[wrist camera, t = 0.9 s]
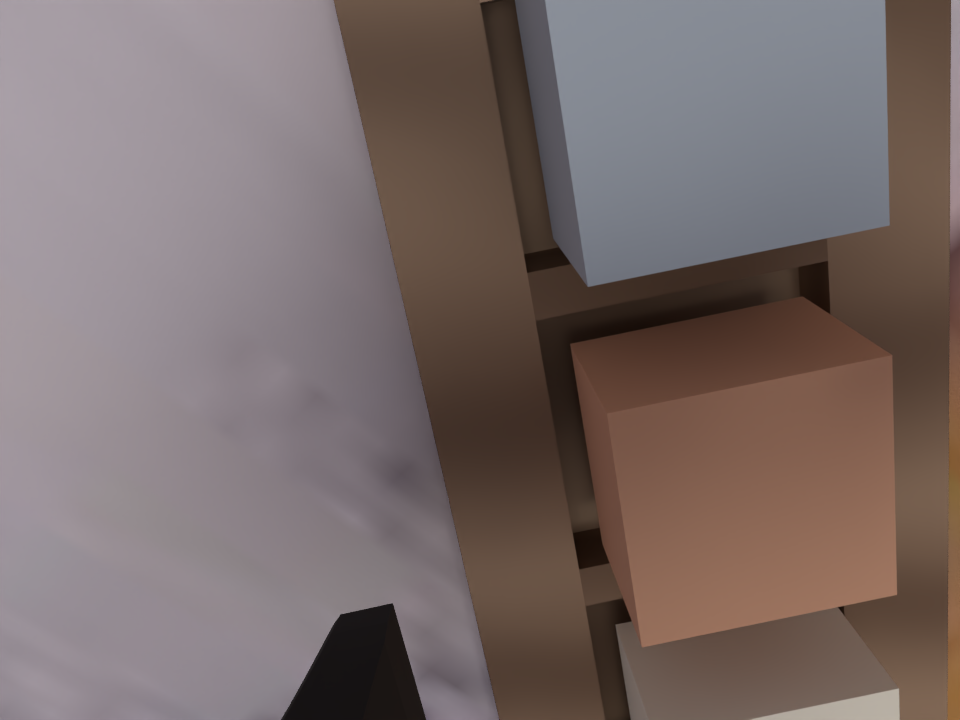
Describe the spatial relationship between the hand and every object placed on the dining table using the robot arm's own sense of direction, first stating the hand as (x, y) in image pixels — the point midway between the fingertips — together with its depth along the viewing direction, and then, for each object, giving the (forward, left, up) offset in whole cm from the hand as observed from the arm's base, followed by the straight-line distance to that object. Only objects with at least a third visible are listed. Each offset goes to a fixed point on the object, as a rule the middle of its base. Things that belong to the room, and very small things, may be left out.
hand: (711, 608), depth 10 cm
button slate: (+5, -2, -8) cm, 10 cm away
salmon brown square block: (-2, -2, -8) cm, 9 cm away
